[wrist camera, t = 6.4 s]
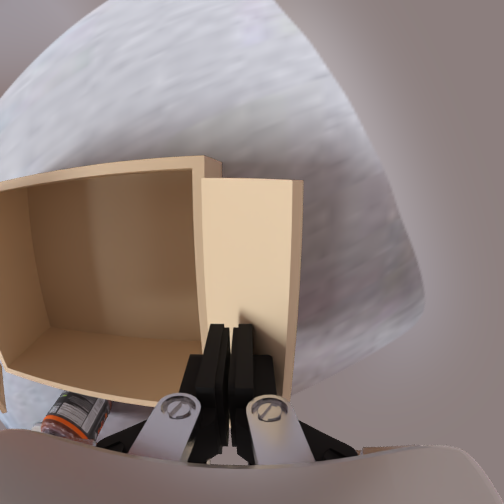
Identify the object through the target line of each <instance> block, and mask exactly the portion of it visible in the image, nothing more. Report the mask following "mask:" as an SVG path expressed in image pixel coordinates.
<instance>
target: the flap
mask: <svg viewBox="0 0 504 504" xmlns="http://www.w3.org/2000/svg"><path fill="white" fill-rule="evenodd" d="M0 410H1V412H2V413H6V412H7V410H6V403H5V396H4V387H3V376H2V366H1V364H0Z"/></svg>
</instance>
